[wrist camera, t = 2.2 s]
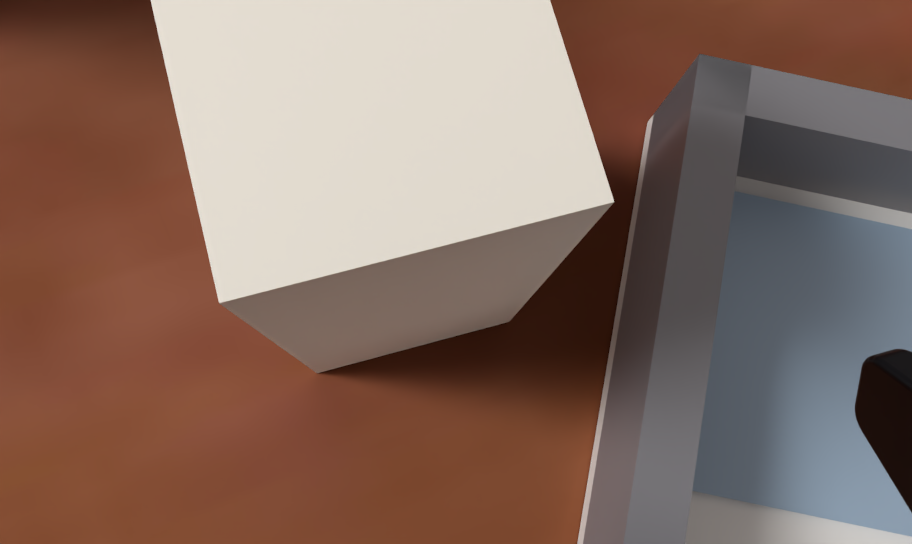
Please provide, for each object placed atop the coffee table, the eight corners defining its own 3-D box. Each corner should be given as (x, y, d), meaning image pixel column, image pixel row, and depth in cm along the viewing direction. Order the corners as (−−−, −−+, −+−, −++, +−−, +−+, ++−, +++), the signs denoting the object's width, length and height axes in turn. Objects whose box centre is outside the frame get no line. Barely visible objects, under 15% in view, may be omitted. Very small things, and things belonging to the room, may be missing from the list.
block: (509, 321, 21) (614, 201, 10) (317, 372, 21) (218, 303, 10) (457, 140, 22) (504, -142, 11) (271, 186, 22) (135, -66, 11)
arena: (1041, 911, 19) (1209, 1037, 15) (533, 808, 19) (566, 908, 15) (1077, 215, 23) (1221, 167, 19) (647, 122, 22) (699, 53, 18)
